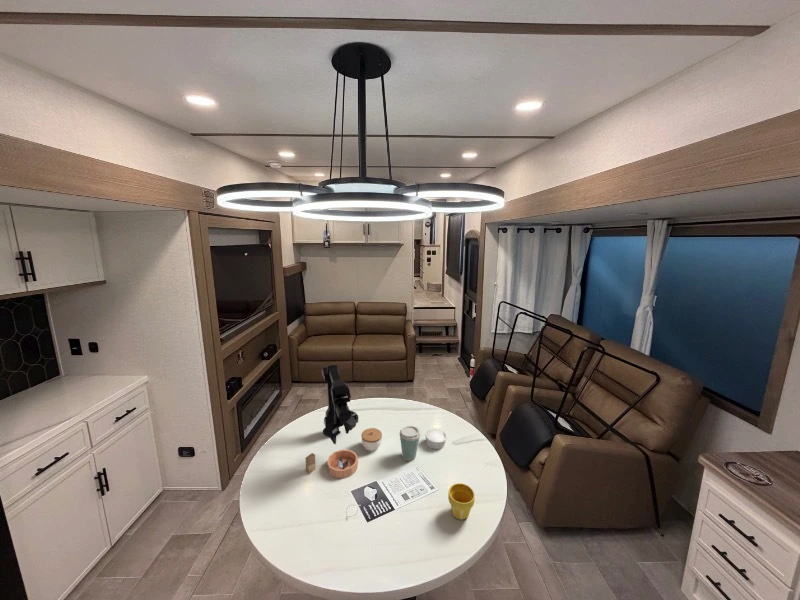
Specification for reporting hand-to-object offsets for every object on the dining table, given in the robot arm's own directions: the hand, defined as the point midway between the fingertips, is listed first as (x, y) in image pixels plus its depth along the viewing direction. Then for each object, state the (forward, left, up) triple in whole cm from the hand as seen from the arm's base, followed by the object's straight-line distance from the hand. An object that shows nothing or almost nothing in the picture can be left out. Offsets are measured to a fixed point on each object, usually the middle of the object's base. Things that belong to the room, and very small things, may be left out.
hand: (341, 438), depth 152 cm
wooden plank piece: (-8, -12, -13) cm, 20 cm away
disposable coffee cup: (+26, +22, -13) cm, 36 cm away
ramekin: (+33, +38, -14) cm, 52 cm away
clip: (+3, -2, -13) cm, 14 cm away
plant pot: (+60, +5, -13) cm, 61 cm away
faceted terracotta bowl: (+3, -2, -13) cm, 14 cm away
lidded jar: (+6, +17, -13) cm, 22 cm away
